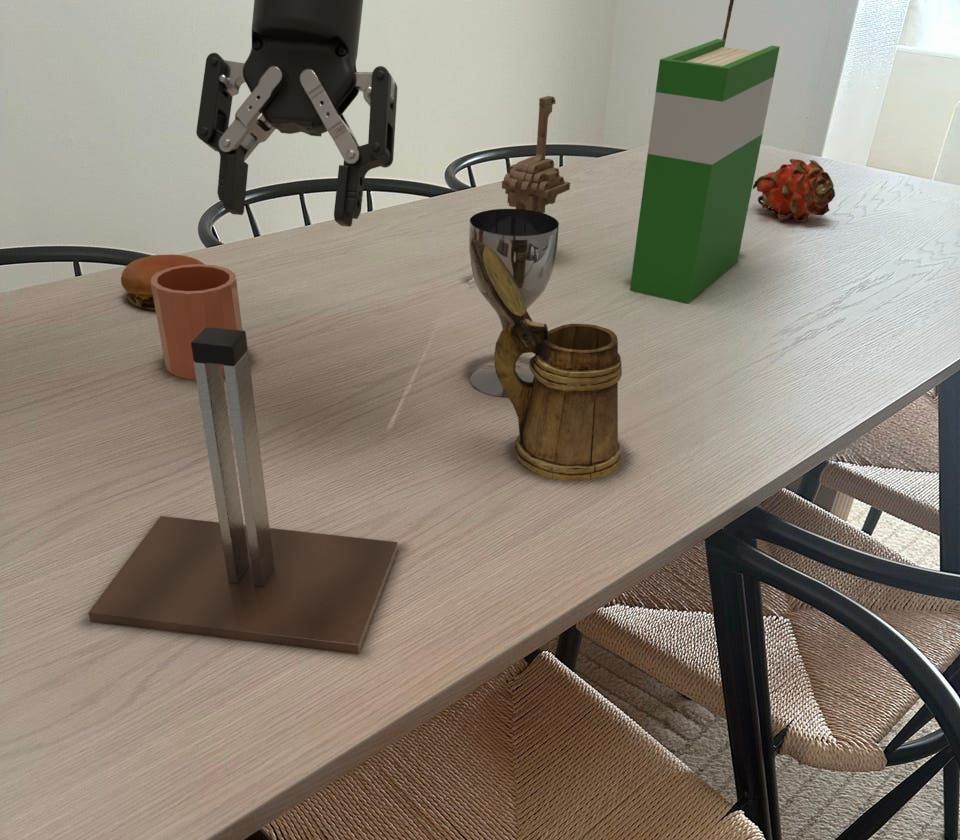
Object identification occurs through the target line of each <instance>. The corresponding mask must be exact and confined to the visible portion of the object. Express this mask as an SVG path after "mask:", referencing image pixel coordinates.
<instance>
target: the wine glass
mask: <svg viewBox="0 0 960 840" xmlns="http://www.w3.org/2000/svg"><path fill="white" fill-rule="evenodd" d="M468 225H469V227H468V228H469V229H468V230H469V231H468V245H470V243H471V241H472V239H476V240H478V241H480V242H481V243H483V244H485V245H486V246H488V247H489V248H490V249H492V250H493V251H494V252H495V253H496V254H497V255H498V256H499V257H500V258H501V260H502V261H503V263H504V264H505V265H506V267H507V268H508V270H509V271H510V273H511V275H512V276H513V278H514V280H515V282H516V284H517V285H518V287H519V290H520V292H521V295H522V297H523V299H524V303H525V306H526V310H527V311H528V309H529V308H530V307H531V306H532V305H533V304H534V303H535V302H536V301H537V300H538V299H539V298H540V297H541V296H542V294H543V293H544V292H545V290H546V289H547V287H548V284H549V282H550V281H551V276H552V274H553V270H554V265H555V262H556V257H557V252H558V251H557V250H558V242H559V229H560V228H559V227H560V226H559V225H560V222H559V221H558V220H557V218H555V217H553V216H552V215H549V214H547V213H541V212H536V211H531V210H523V209H516V208H495V209H487V210H483V211H480V212H477V213H474V215H472V216H471V217H470V219H469V224H468ZM468 251H469V258H470V266H471V271H472V277H474V280H475V285H476V287H477V289H478V291H479V292H480V294H481V295H482V297H483V298H484V299H485V300H486V301H487V302H488V304H489V305H490V306H491V308H492V309H493V310H494V311H495V313H496V315H497V317H498V319H499V321H500V324H501V331H502V330H503V329H504V328H505V326H506V325H507V323H508V321H507V320H506V319H505V318H504V317H503V316H502V315H501V313H500V312H499V310H498V309H497V307H496V306H495V304H494V303H493V301H492V300H491V298H490V296H489V295H488V293H487V291H486V290H485V288H484V286H483V285H482V283H481V281H480V278H479V276H478V274H477V270H476V267H475V264H474V261H473V257H472V254H471V250H470V246H469V250H468ZM515 371H516V373H517V375H518V377H519V378H520V379H522V380H523V381H526V382H533V378H534V375H533V373H532V372H531V369H530V368H525V367H521V366H517V365H516V368H515ZM469 382H470V384H471V386H472V387H473V388H474V389H475V390H477V391H479V392H481V393H484V394H487V395H490V396H494V397H502V398H508V396H507V394H506V392H505V391H504V389H503V387H502V385H501V383H500V381H499V378H498V376H497V374H496V369H495V365H489V366H485V367H482V368H480V369H477V370H476V371H474V372H473V373H472V374H471V376H470V377H469Z"/></svg>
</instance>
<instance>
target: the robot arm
mask: <svg viewBox="0 0 960 840" xmlns="http://www.w3.org/2000/svg"><path fill="white" fill-rule="evenodd" d="M363 6H364V0H253V8H252V9H253V11H252V20H251V21H252V22H251V48H250V52H249V55H248V56H247V59H246V60H245V62H239V61H232V60H225V59H224V58H223V57H222V56H221V55H220V54H219V53H217V52H211V53H209V54H208V55H207V56H206V59H205V66H204V73H203V79H202V80H203V81H202V88H201V95H200V103H199V109H198V117H197V124H196V132H195V133H196V137H197V138H198V139H199V140H200V141H202V142H203V143H204V144H205V145H207V146H208V147H209V148H211V150H212V151H214V152H218V153H219V158H220V159H219V167H218V168H219V171H218V179H217V180H218V182H217V191H216V192H217V197H218V200H219V201H220V202H221V203H222V206H223V208H224V210H226V211H227V212H229V213H230V214H232V215H237V216H243V215H244V212H245V205H246V194H247V185H248V171H249V164H248V163H247V162H246V160H247V159H248V158H249V156H250V155H251V154H252V153H253V152H254V150H255V149H256V148H257V147H258V146H259V144H261V143H265V142H266V141H267V140H268V139H269V138H270V136H271V135H272V134H273V133H274V132H275V130H278V131H279V132H280V133H281V134H286V135H287V134H288V135H289V134H290V135H292V134H298V133H304V134H306V135H308V136H311V137H322V135H323V134H325V133H326V132H328V134H329V136H330V137H331V139H332V140H333V142H334V145H335V146H336V148H337V149H338V151H339V153H340V155H341V157H342V159H343V165H342V164H338V172H337V180H336V191H335V200H334V209H333V218H334V221H335V222H336V223H337V224H338V225H339V226H340V227H348V228H349V227H352V225H353V220H358V219H359V216H360V215H361V212H362V203H363V195H364V187H365V178H366V176H367V173H368V172H370V170H372V169H376V168H379V167H381V168H383V169H384V168H385V169H386V168H388V167H391V165H393V163H394V153H395V150H394V149H395V137H396V136H395V135H396V120H397V102H398V84H397V82H396V81H395V79H394V77H393V76H392V74H391V73H390V72H389V70H388V69H387V68H386V67H385V66H383V65H379V66H376V67H374V69H373V70H372V71H358V70H357V59H358V54H359V53H358V51H359V43H360V34H361V33H360V31H361V26H362V25H361V24H362V14H363ZM244 83H245V85H246V86H247V88H248V90H249V92H250V94H249V95H248V96H247V98H245V100H244V101H243V103H242V104H241V105H240V107H239V108H238V109H237V111H236V112H235V113H234V114H235V115H234V120H233V121H232V123H230V120H231V119H230V118H231V112H232V105H233V104H232V103H233V97H234V96H237V95H238V94H239V92H240V88H241V86H242V85H243V84H244ZM360 92H362V96H363V99H364V101H365V102H366V104H367V105H368V106H369V122H368V139H367V143H366V144H362V145H360V144H359V142H358V139H357V137H356V135H355V134H354V131H353V130H352V128H351V127H350V125H349V123H348V121H347V118H346V117H345V116H344V113H345V111H347V109H348V107H350V105H351V104H352V103H353V102H354V100H355V99H356V98H357V97H358V95H359V93H360ZM229 124H230V125H229Z"/></svg>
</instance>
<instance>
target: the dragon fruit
mask: <svg viewBox="0 0 960 840" xmlns="http://www.w3.org/2000/svg"><path fill="white" fill-rule="evenodd" d="M789 163H790V164H786V163H785V164H781V165H780V167H779V168H778V169H777V170H775V171H771V172H768V173H767V174H765V175H762V176H759V177H758V178H757V179H756V180H755V181H754V182H753V186H752V190H754V189H756V191H757V192H758V193H762V194H761V195H759V196H758V197H757V202H758V204H759V205H760V206H761V208H762V209H766V210H767V211H769V212H773V213H774V214H775V215H776V216H777V218H778V220H779V221H781V222H783V221H786V220H788V219H790V218H791V217H794V219H795V221H796V222H798V223H799V222H800V223H806V222H807V221H808V220H809V217H810V215H814V216H824V215H825V214H827V213H828V212H830V207H829V204H830V203H831V202H832V201H833V200H834V198H835V197H836V191H835V188H834V187H835V186H834V182H833V180H832V178H831V176H830V175H829V173H828V172H826V171H825V170H824V168H823V167H822V166H821V165H820V164H819V163H818V161H816V160H814V159H809V163H808V164H807V163H806V162H805V161H804V160H801V159H795V158H790V159H789Z"/></svg>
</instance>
